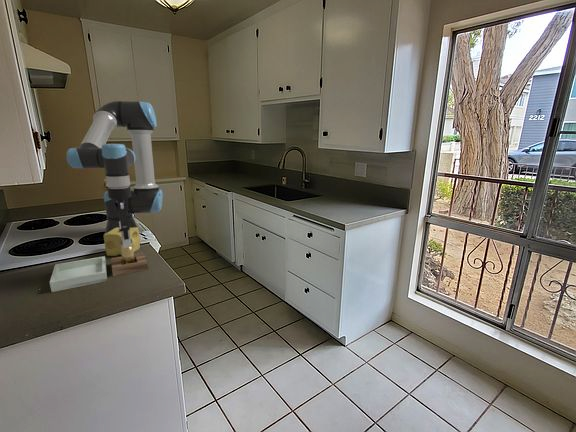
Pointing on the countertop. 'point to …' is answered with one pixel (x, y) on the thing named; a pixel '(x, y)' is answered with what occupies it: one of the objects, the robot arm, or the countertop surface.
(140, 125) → the robot arm
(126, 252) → the brown and black cylinder
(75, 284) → the tray
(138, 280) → the countertop surface
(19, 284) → the countertop surface
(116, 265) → the pin block
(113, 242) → the cheese
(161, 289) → the countertop surface
